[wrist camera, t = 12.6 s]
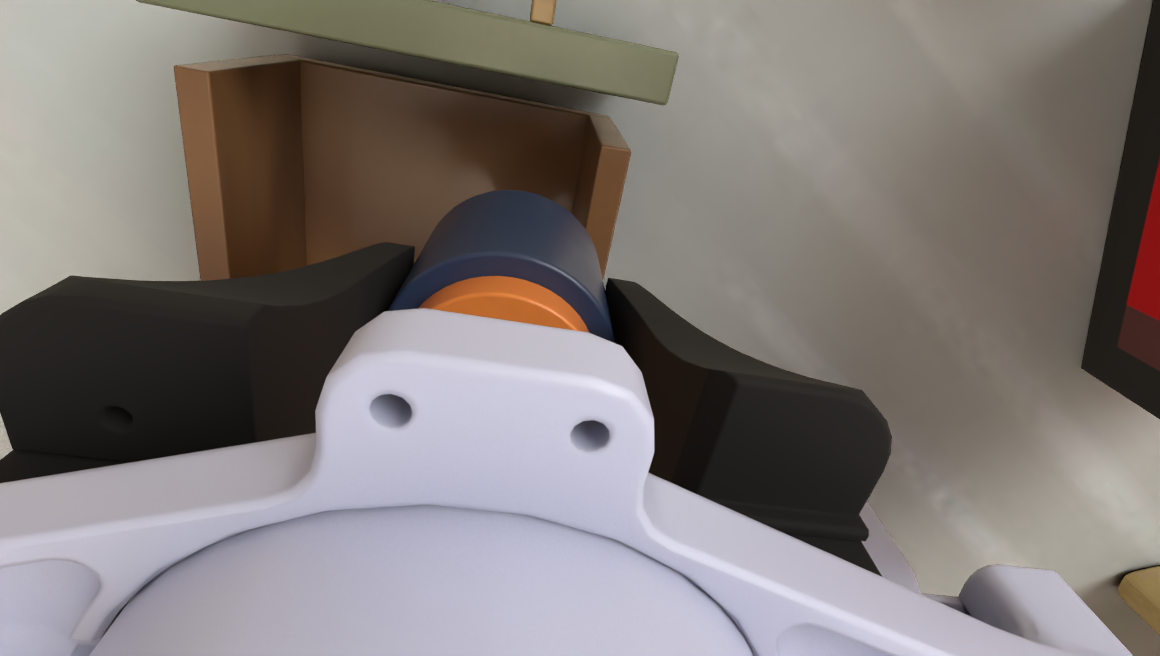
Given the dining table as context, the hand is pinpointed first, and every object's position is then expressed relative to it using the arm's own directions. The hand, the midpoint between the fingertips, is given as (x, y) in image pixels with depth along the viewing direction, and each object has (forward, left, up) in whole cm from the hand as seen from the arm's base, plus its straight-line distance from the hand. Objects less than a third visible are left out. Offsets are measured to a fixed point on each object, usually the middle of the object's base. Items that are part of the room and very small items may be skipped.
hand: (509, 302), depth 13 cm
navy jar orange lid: (0, 0, -1) cm, 1 cm away
